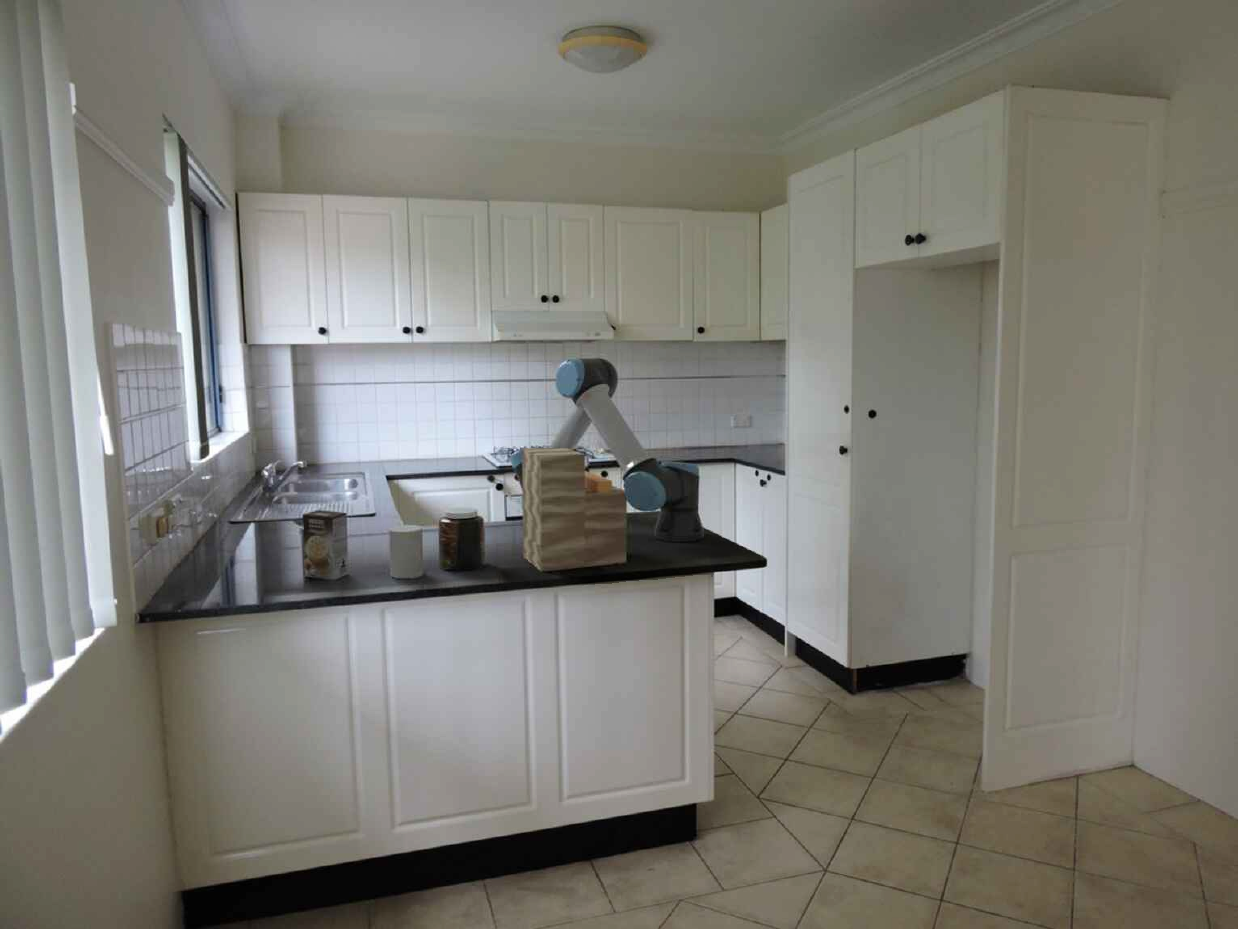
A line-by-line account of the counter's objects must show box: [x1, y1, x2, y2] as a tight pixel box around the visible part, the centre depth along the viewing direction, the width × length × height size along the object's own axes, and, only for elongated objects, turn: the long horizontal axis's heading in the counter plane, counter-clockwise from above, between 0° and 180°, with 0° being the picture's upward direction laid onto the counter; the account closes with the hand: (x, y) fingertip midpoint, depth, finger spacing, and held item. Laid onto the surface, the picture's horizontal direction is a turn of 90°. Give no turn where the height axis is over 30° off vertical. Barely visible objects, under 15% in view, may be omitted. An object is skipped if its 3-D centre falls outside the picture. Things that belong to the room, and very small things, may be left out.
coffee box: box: [302, 509, 349, 581], centre depth 213 cm, size 9×6×16 cm
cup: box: [388, 524, 424, 579], centre depth 214 cm, size 8×8×12 cm
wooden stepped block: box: [520, 447, 628, 572], centre depth 229 cm, size 17×24×30 cm
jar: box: [437, 507, 486, 572], centre depth 223 cm, size 12×12×15 cm
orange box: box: [585, 471, 613, 493], centre depth 235 cm, size 26×4×3 cm, turn 24°
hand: (566, 461), depth 251 cm, fingers open, 13 cm apart
